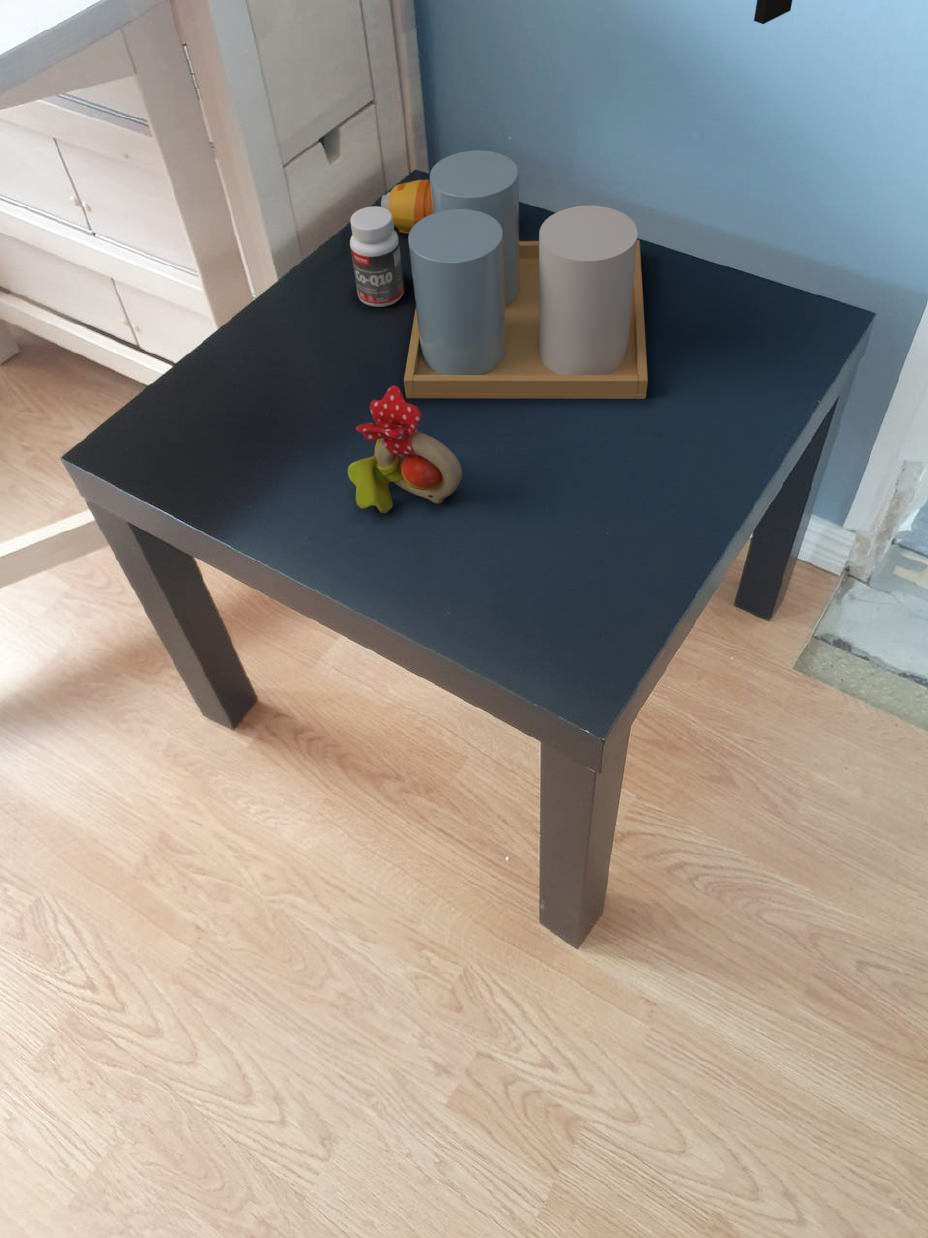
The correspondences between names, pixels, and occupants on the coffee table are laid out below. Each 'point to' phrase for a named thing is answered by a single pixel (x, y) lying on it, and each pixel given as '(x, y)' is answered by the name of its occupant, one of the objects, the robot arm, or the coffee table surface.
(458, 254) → the slate blue cylinder
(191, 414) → the coffee table surface
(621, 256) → the light grey cylinder
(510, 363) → the tray
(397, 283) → the pill bottle
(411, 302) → the coffee table surface
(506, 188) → the grey-blue cylinder
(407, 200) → the toy figure
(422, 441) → the bird rattle
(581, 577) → the coffee table surface
